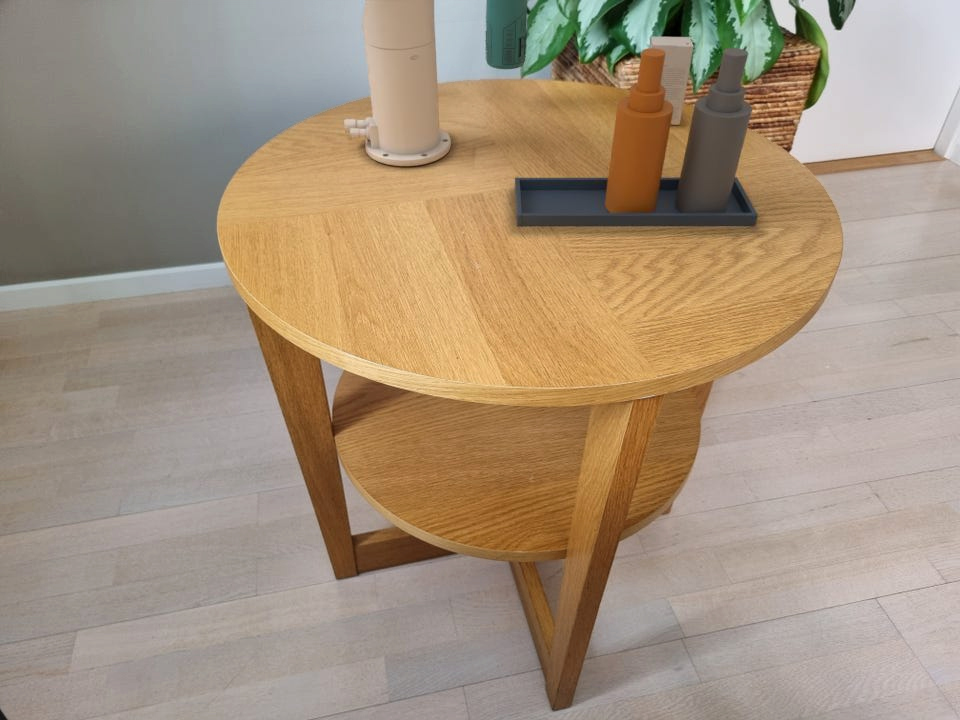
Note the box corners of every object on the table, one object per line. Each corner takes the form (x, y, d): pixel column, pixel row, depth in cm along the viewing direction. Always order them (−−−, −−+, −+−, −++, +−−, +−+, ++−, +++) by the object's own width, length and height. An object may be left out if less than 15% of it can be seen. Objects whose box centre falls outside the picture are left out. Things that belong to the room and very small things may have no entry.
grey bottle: (680, 219, 87) (713, 62, 74) (670, 193, 92) (700, 42, 79) (732, 218, 87) (774, 61, 74) (719, 193, 92) (756, 41, 79)
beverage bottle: (522, 80, 110) (528, -66, 97) (480, 77, 111) (481, -68, 98) (528, 67, 115) (535, -75, 101) (488, 64, 116) (490, -77, 102)
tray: (516, 231, 86) (517, 215, 85) (514, 193, 94) (515, 177, 92) (753, 231, 86) (758, 215, 85) (732, 192, 93) (737, 177, 92)
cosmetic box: (677, 114, 112) (691, 36, 104) (679, 126, 109) (695, 46, 101) (638, 113, 113) (650, 35, 105) (640, 124, 110) (652, 44, 102)
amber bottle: (608, 219, 87) (628, 62, 74) (601, 193, 92) (620, 42, 79) (659, 219, 87) (689, 62, 74) (650, 193, 92) (677, 42, 79)
